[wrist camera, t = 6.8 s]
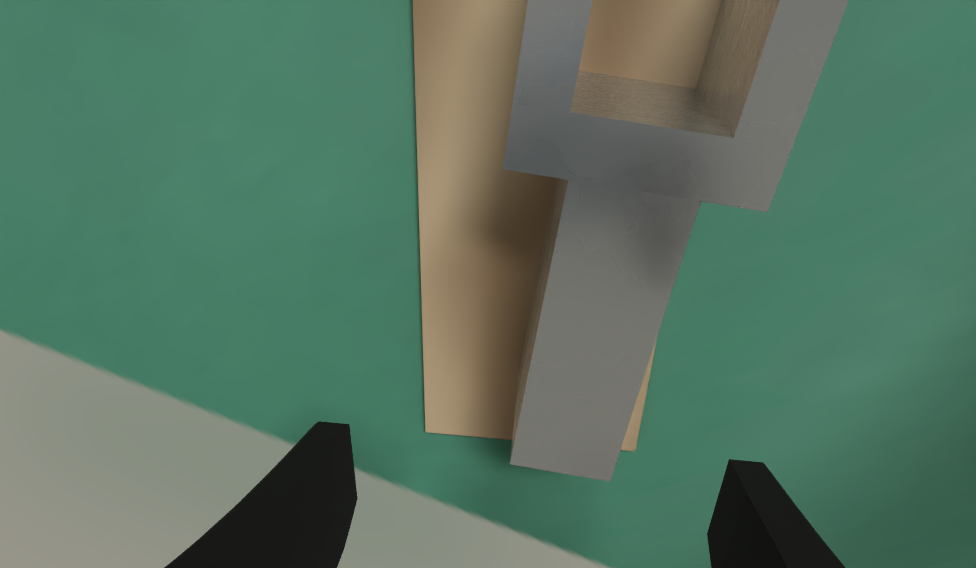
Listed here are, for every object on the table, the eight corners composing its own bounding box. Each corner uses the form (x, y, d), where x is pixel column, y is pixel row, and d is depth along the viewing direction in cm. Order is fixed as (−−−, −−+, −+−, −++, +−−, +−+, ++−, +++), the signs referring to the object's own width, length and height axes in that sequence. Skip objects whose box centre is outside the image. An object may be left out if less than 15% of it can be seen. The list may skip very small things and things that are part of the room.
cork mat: (729, -61, 16) (733, -60, 16) (634, 443, 25) (635, 451, 24) (413, -72, 17) (410, -71, 16) (427, 425, 25) (425, 432, 25)
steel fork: (795, -71, 15) (874, -66, 12) (644, 391, 23) (660, 490, 19) (549, -108, 16) (545, -116, 12) (477, 364, 23) (459, 455, 19)
